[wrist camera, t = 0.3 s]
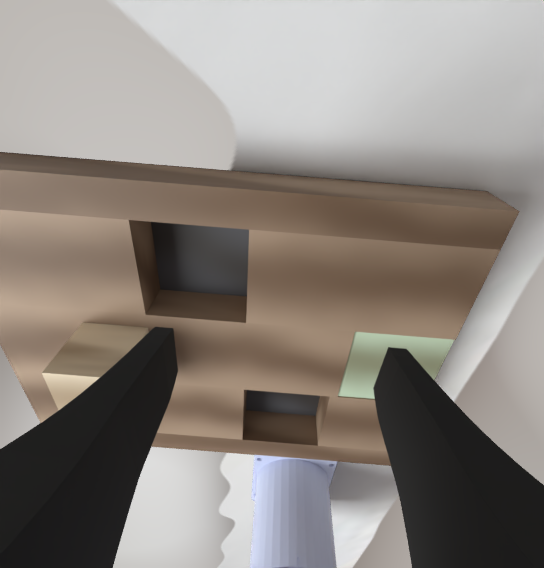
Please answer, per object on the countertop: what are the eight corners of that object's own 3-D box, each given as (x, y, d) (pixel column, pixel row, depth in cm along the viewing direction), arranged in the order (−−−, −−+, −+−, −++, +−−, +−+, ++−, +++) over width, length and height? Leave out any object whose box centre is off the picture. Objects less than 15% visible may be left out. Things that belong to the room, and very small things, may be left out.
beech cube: (156, 372, 22) (132, 426, 19) (97, 368, 22) (63, 420, 19) (147, 327, 20) (119, 379, 17) (82, 322, 20) (41, 372, 17)
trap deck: (384, 432, 30) (392, 465, 27) (68, 407, 30) (48, 438, 27) (487, 191, 18) (519, 211, 15) (-41, 148, 18) (-95, 161, 15)
